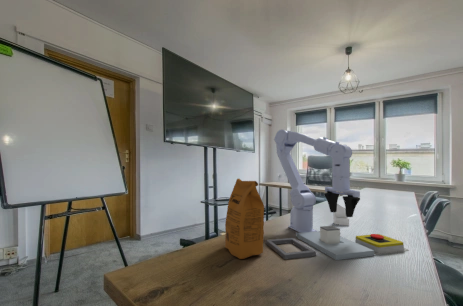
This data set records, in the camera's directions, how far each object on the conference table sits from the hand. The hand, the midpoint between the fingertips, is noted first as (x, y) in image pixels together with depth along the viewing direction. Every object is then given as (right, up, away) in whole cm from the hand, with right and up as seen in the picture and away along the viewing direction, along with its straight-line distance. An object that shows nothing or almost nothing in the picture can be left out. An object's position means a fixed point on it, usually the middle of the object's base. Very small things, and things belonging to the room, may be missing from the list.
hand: (341, 214), depth 78 cm
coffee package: (-36, -8, -12) cm, 39 cm away
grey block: (-7, -9, -6) cm, 12 cm away
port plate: (-6, -9, -5) cm, 12 cm away
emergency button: (+10, -10, -6) cm, 15 cm away
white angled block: (+12, -11, +23) cm, 28 cm away
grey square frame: (-21, -8, -10) cm, 25 cm away
